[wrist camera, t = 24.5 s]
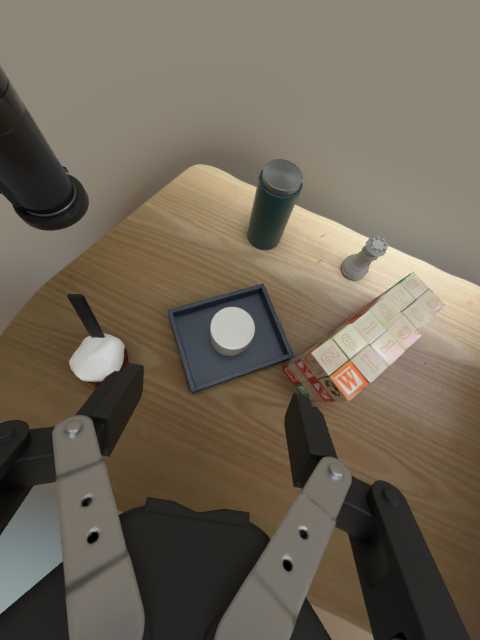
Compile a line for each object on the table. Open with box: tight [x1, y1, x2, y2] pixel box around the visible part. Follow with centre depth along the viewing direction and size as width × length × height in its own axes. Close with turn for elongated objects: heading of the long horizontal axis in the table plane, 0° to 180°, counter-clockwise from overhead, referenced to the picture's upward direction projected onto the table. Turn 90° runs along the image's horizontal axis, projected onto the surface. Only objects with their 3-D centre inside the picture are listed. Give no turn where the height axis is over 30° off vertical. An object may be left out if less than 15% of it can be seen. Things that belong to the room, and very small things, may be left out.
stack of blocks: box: [282, 272, 445, 402], centre depth 36 cm, size 21×6×12 cm, turn 126°
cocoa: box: [67, 294, 128, 392], centre depth 31 cm, size 10×6×12 cm, turn 160°
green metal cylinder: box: [247, 159, 303, 250], centre depth 41 cm, size 6×6×13 cm
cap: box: [210, 307, 255, 357], centre depth 37 cm, size 6×6×5 cm
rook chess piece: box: [342, 236, 388, 280], centre depth 43 cm, size 4×4×8 cm
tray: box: [168, 284, 293, 393], centre depth 39 cm, size 15×12×2 cm
